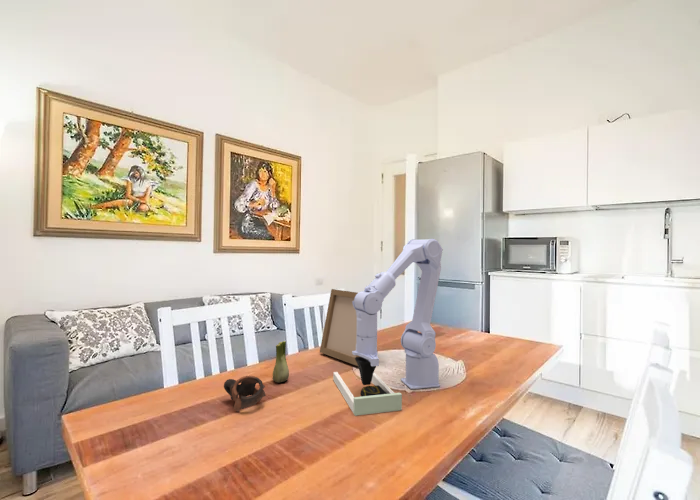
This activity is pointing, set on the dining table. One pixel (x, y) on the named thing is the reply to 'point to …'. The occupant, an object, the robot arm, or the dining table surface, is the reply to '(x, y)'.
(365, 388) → the tape measure
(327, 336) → the photo frame
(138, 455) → the dining table surface
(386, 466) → the dining table surface
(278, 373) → the fennel bulb
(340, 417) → the dining table surface
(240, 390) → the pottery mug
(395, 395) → the bay
